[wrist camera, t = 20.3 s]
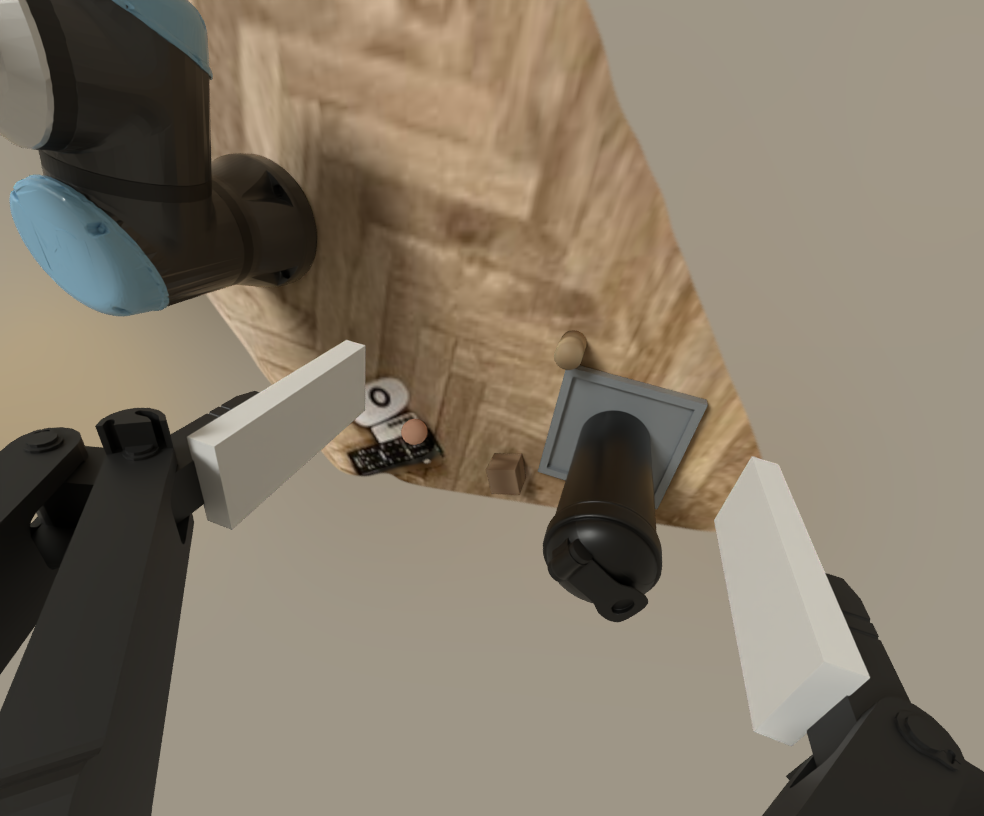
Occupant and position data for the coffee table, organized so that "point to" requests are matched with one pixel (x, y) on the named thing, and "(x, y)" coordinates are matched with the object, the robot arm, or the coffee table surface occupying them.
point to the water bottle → (607, 519)
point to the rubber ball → (414, 431)
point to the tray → (654, 406)
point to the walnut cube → (506, 474)
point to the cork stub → (570, 350)
